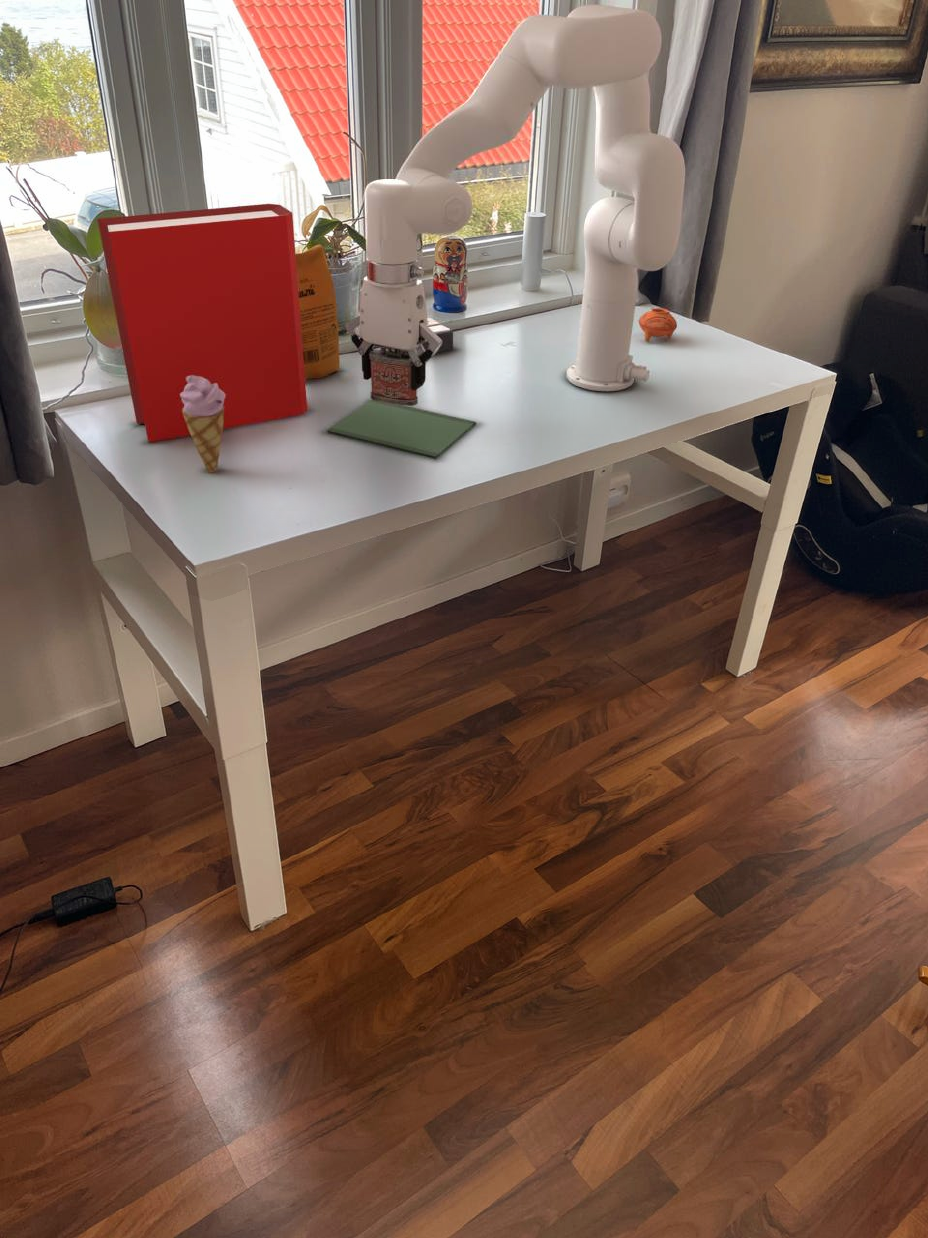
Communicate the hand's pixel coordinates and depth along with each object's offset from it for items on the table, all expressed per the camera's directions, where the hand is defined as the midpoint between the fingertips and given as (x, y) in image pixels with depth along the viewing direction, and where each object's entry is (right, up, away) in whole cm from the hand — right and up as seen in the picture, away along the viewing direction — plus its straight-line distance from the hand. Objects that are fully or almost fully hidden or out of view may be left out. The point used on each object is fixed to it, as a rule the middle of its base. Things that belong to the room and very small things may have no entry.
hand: (393, 381), depth 151 cm
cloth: (+1, -6, +5) cm, 8 cm away
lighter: (0, -3, +2) cm, 3 cm away
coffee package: (-19, +8, +24) cm, 32 cm away
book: (-29, -5, +7) cm, 30 cm away
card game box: (+1, +18, +39) cm, 42 cm away
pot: (+51, +20, +44) cm, 70 cm away
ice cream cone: (-27, -16, -8) cm, 32 cm away
